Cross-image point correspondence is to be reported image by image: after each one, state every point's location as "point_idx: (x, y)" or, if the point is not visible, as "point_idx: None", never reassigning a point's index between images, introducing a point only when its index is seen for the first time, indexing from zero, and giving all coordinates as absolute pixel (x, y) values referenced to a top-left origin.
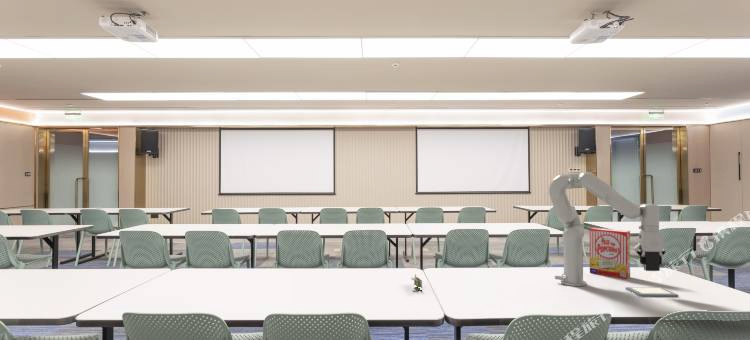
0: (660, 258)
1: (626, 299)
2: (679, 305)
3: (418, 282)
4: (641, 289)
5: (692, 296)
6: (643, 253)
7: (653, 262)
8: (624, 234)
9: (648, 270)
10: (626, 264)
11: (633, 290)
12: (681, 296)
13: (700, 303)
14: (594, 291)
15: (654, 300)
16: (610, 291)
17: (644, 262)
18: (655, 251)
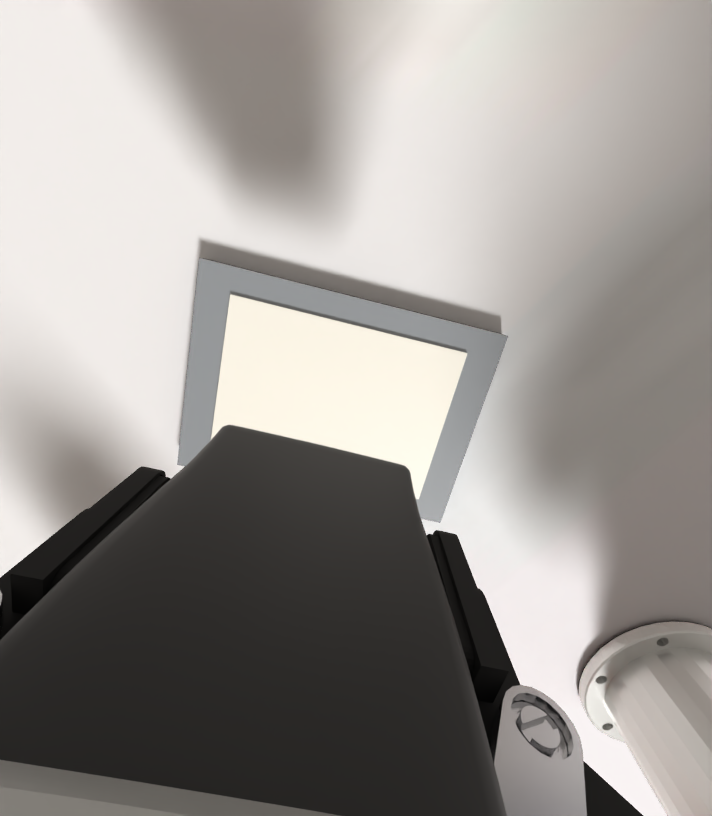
0: (75, 542)
1: (675, 289)
2: (402, 16)
3: None
4: (381, 445)
5: (78, 248)
6: (551, 802)
7: (289, 512)
8: None
9: (382, 460)
10: None
11: (456, 442)
12: (169, 268)
13: (162, 32)
14: (698, 513)
15: (482, 213)
16: (589, 491)
17: (457, 556)
18: (117, 799)
